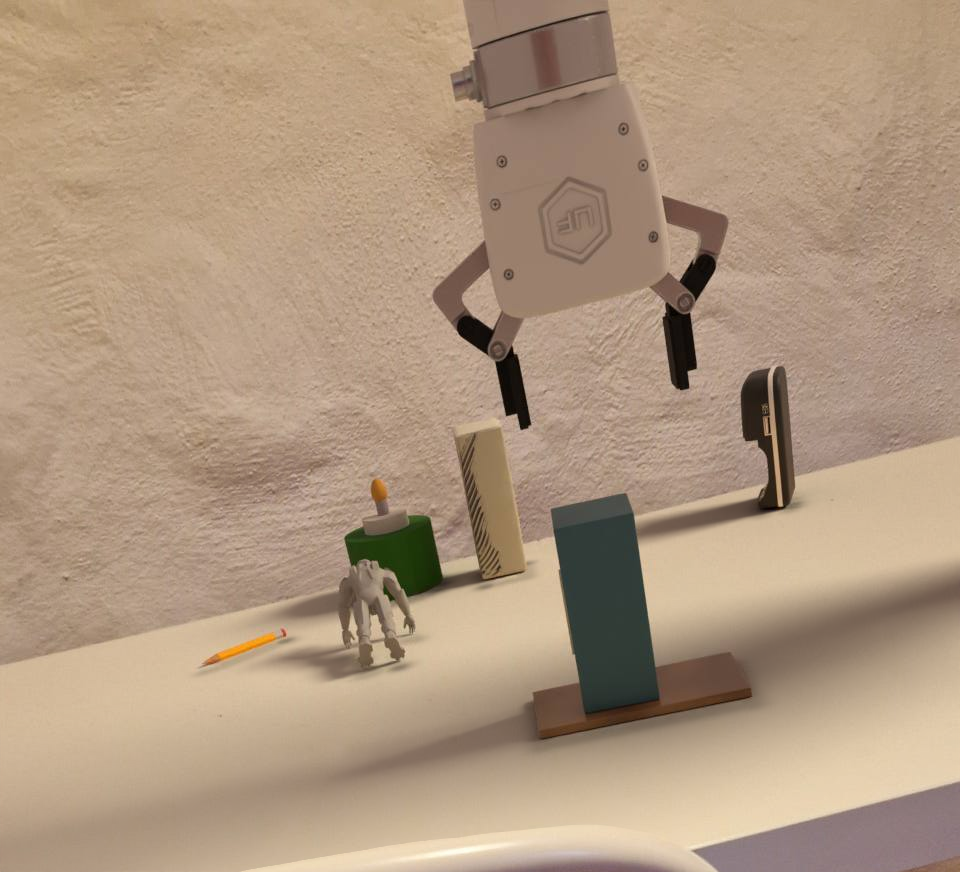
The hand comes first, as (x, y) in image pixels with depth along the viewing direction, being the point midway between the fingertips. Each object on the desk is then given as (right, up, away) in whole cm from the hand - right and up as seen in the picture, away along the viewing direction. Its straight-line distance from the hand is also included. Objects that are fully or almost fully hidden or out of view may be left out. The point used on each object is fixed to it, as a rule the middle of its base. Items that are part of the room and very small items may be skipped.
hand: (602, 406), depth 85 cm
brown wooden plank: (+3, -15, +10) cm, 18 cm away
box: (-5, +5, +46) cm, 47 cm away
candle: (-15, +5, +49) cm, 51 cm away
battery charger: (+20, +12, +47) cm, 53 cm away
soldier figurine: (-16, -6, +33) cm, 37 cm away
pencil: (-29, -4, +41) cm, 50 cm away
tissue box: (+3, -10, +6) cm, 12 cm away
